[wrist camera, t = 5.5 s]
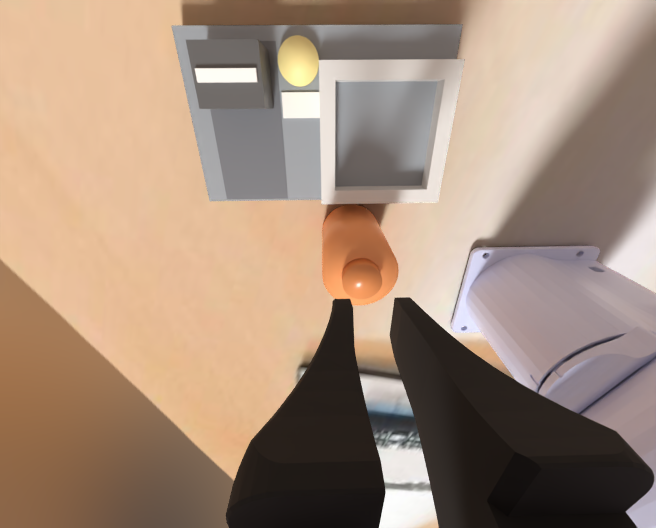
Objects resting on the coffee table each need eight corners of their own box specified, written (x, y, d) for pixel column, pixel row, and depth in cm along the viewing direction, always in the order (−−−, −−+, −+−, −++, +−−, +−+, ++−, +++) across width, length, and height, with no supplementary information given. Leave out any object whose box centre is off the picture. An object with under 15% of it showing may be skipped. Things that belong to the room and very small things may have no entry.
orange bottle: (380, 203, 19) (407, 246, 13) (375, 255, 21) (397, 313, 15) (321, 204, 19) (321, 247, 13) (322, 256, 21) (323, 315, 15)
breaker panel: (452, 30, 14) (472, 18, 12) (425, 193, 19) (437, 202, 17) (182, 31, 14) (160, 19, 12) (216, 195, 18) (203, 205, 16)
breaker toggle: (268, 50, 14) (257, 38, 11) (273, 108, 15) (264, 108, 13) (207, 51, 14) (183, 38, 11) (217, 109, 15) (198, 108, 12)
